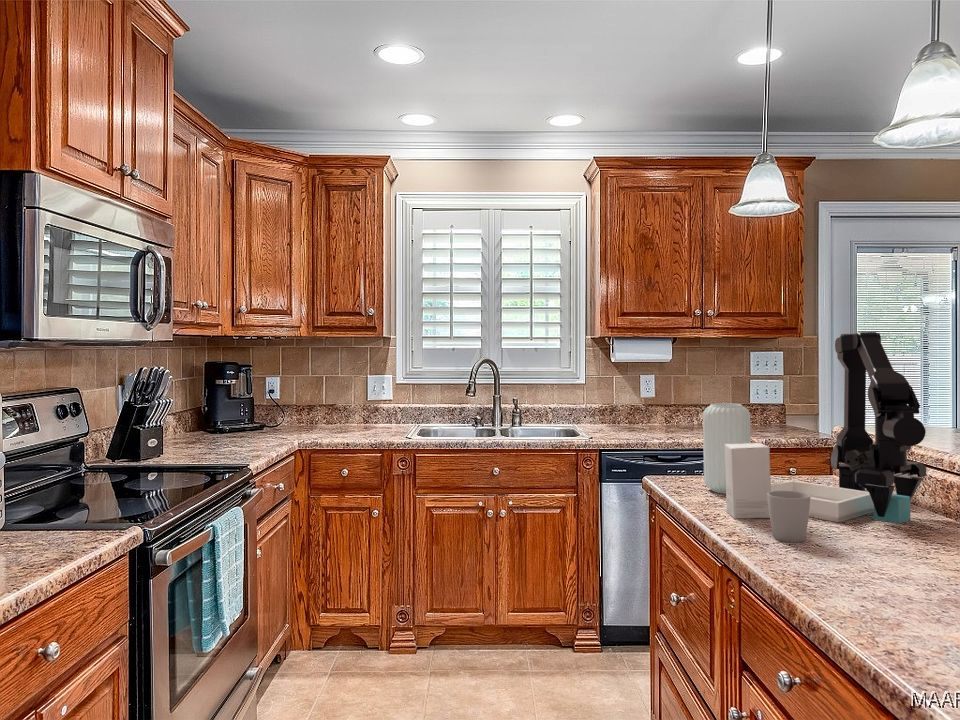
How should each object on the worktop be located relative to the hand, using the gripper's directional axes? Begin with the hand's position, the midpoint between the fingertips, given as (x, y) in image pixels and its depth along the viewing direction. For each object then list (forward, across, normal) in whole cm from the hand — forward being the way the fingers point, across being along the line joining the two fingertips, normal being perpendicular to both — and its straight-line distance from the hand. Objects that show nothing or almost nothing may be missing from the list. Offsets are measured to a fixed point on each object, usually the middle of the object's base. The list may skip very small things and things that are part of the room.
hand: (891, 513), depth 144 cm
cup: (+1, +29, -6) cm, 30 cm away
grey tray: (+1, +3, -16) cm, 16 cm away
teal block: (+1, 0, 0) cm, 1 cm away
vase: (+1, +1, -40) cm, 40 cm away
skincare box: (+2, +20, -20) cm, 29 cm away
